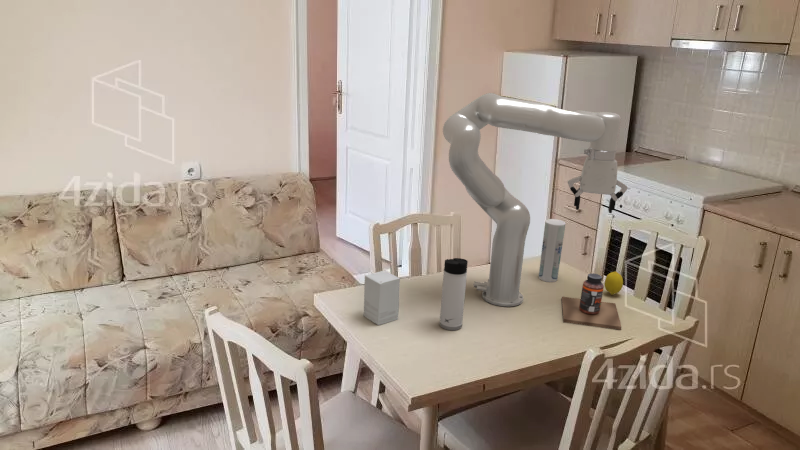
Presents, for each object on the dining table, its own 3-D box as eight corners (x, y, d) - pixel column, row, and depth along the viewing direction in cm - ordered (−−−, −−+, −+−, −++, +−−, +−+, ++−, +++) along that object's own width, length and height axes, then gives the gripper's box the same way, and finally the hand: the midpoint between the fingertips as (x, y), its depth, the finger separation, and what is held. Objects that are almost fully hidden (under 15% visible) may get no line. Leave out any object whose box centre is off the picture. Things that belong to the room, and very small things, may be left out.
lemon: (621, 299, 202) (625, 275, 199) (603, 297, 203) (607, 273, 200) (619, 292, 207) (623, 269, 204) (602, 290, 208) (605, 267, 205)
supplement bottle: (596, 317, 186) (602, 281, 182) (576, 311, 189) (581, 276, 185) (602, 310, 191) (607, 275, 187) (582, 304, 194) (587, 270, 190)
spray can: (540, 273, 219) (547, 217, 212) (559, 277, 216) (567, 220, 210) (536, 279, 213) (543, 222, 207) (555, 283, 211) (563, 226, 204)
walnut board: (563, 322, 184) (563, 319, 184) (561, 299, 199) (561, 296, 199) (620, 330, 181) (621, 326, 181) (614, 306, 196) (615, 303, 196)
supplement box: (398, 319, 181) (401, 278, 177) (377, 326, 176) (379, 283, 172) (383, 309, 186) (385, 269, 182) (362, 315, 182) (363, 274, 178)
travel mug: (447, 333, 174) (453, 265, 168) (435, 322, 180) (440, 256, 174) (466, 329, 177) (473, 261, 171) (454, 318, 183) (459, 253, 176)
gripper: (572, 154, 186) (564, 210, 192) (634, 160, 183) (624, 217, 189) (571, 149, 193) (563, 204, 199) (630, 155, 190) (621, 210, 196)
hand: (593, 210), depth 194 cm, fingers open, 9 cm apart
